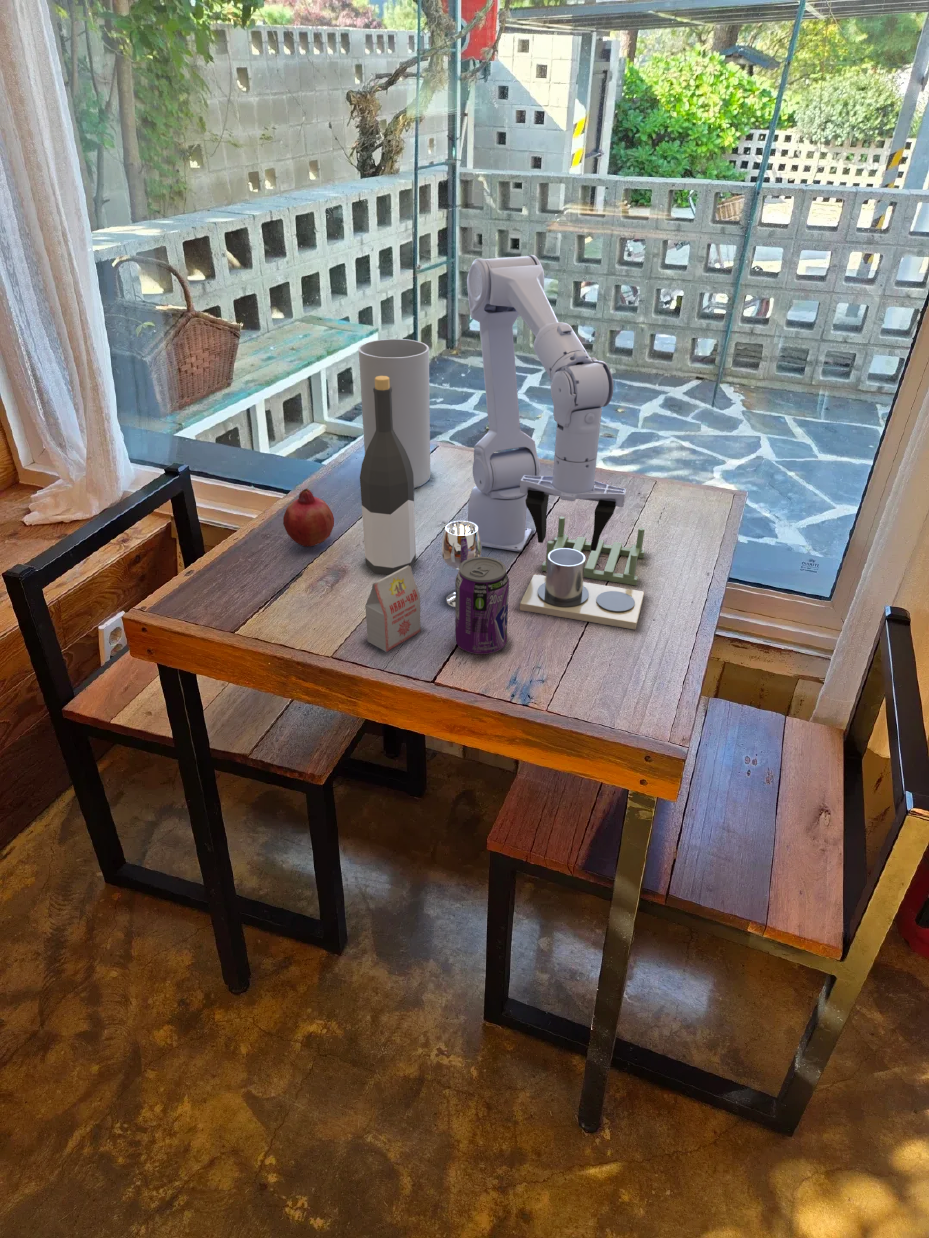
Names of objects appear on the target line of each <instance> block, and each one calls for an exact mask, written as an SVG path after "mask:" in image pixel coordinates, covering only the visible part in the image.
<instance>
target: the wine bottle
mask: <svg viewBox="0 0 929 1238" xmlns="http://www.w3.org/2000/svg"><path fill="white" fill-rule="evenodd" d="M373 392H374V400H375V419H376V431H375V434H374V436H373V438H372V440H371V442H370V444H369V446H368V448H367V450H366V453H365V452H364V456H363V460H362V462H361V468H360V473H359V486H360V500H361V501H360V503H361V517H362V532H363V533H362V534H363V546H364V560H365V565H366V567H367V568H368V569H369V570H370V571H371V572H372V573H373V574H375V575H381V576H388V575H390V574H392V573H394V572H396V571H398V570H400V569H402V568H404V567H406V566H408V565H409V566H411V570H412V569H413V567H414V565H415V564H416V559H417V554H416V553H417V552H416V548H417V547H416V519H415V517H416V516H415V513H416V512H415V488H414V477H413V470H412V467H411V463H410V460H409V458H408V455H407V453H406V450H405V448H404V447H403V445H402V444H401V442H400V440H399V439H398V437H397V435H396V434H395V432H394V430H393V419H392V395H391V392H392V387H390V378H389V377H387V376H377V377H376V378H375V387H374V388H373Z"/></svg>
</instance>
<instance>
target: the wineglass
mask: <svg viewBox="0 0 929 1238" xmlns="http://www.w3.org/2000/svg"><path fill="white" fill-rule="evenodd" d="M482 548H483V547H482V546H481V538H480V534H479V530H478V527H477V525H476V524H474V523H472V522H468V520H455V521H451V522H449V523H448V524H446V525H445V528H444V531H443V535H442V539H441V557H442V559H443V561H444V563H445V564H446V566H448V567H449V568H451V569H454V570H457V571H458V572H457V574H458V573H459V566H460V564H461V563H462V562H463V561H465V560H467V559H470V558H474V557H482V550H483V549H482ZM445 602H446V603H447V605H448V606H450V607H452V608H455V592H452V593H449V594H448V595H447V596H446V599H445Z"/></svg>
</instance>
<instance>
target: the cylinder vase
mask: <svg viewBox="0 0 929 1238" xmlns="http://www.w3.org/2000/svg"><path fill="white" fill-rule="evenodd" d="M358 365H359V366H358V367H359V381H360V382H359V383H360V396H361V397H360V398H361V414H362V415H361V416H362V430H363V433H362V434H363V447H364V454H365V453H366V450H367V448H368V446H369V444H370V442H371V440H372V438H373V436H374V434H375V431H376V419H375V400H374V392H373V388H374V387H375V378H376V377H377V376H387V377H389V378H390V387H392V392H391V395H392V419H393V430H394V432H395V434H396V435H397V437H398V439H399V440H400V442H401V444H402V445H403V447H404V448H405V450H406V453H407V455H408V458H409V460H410V463H411V467H412V470H413V477H414V489H416V488H419V487H421V486H423V485H425V484H426V483H427V482H428V481H429V480H430V478H431V474H432V473H431V410H430V409H431V408H430V407H431V406H430V405H431V404H430V401H431V400H430V399H431V398H430V347H429V346H428V344H426V343H424V342H421V341H419V340H414V339H405V338H383V339H376V340H370V341H367V342H365V343H362V344H360V345H359V346H358Z"/></svg>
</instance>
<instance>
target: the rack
mask: <svg viewBox="0 0 929 1238" xmlns="http://www.w3.org/2000/svg"><path fill="white" fill-rule="evenodd" d="M565 524H566V517H565V516H559V517H558V525H557V536H555V537H554V538H553V540H547V542H546V555H545V561H543V562H542V564H541V571H542V572H546V571H547V557H548V554H549V553H550V552H551V551H552V550H555V549H560V548H569V549H575V550H577V551H580V552H581V553H583V552H582V551H583V550H584V551H590V553H589V556H588V559H587V561H586V563H585V571H584V578H587V579H593V580H600V581H604V582H605V581H606V582H611V583H617V584H625V585H631V586H637V585H638V581H639V580H638V579H639V576H637V575H636V569H637V562H638V559H644V558H645V553H646V550H645V549H643V545H644V544H643V543H644V537H645V528H644V527H638V529H637V536H636V544H631V547H626V546H623V542H618V541H613V543H612V544H606V543H605V540H604V539H599V542H598V546H597V549H596V551H592V550H591V543H592V541H587V537H584V536H577V537H576V539H572V538H569V535H568V534H565ZM601 553H603V554H609V555H608V558H607V561H606V564H605V567H604V569H603V570H598V569H596V567H597V564H598V561H599V558H600V556H601ZM620 556H623V557H627V561H626V564H625V568H624V570H623V573H617V572H615V569H616V566H617V564H618V561H619V557H620Z"/></svg>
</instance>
